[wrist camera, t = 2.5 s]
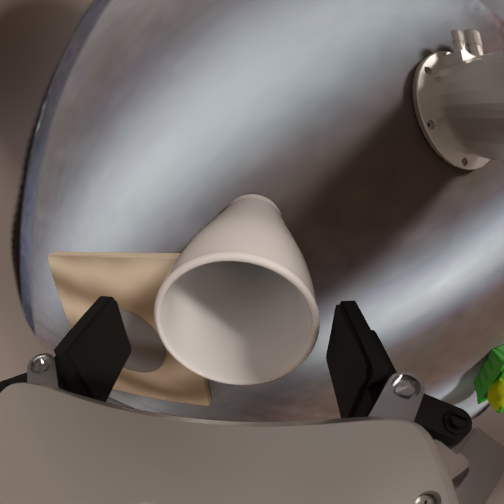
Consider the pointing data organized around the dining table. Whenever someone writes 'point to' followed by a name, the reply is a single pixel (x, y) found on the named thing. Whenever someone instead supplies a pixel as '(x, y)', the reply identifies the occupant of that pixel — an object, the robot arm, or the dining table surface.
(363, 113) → the dining table surface
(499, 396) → the fruit basket
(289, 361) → the drinking glass
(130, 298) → the serving board
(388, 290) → the dining table surface
